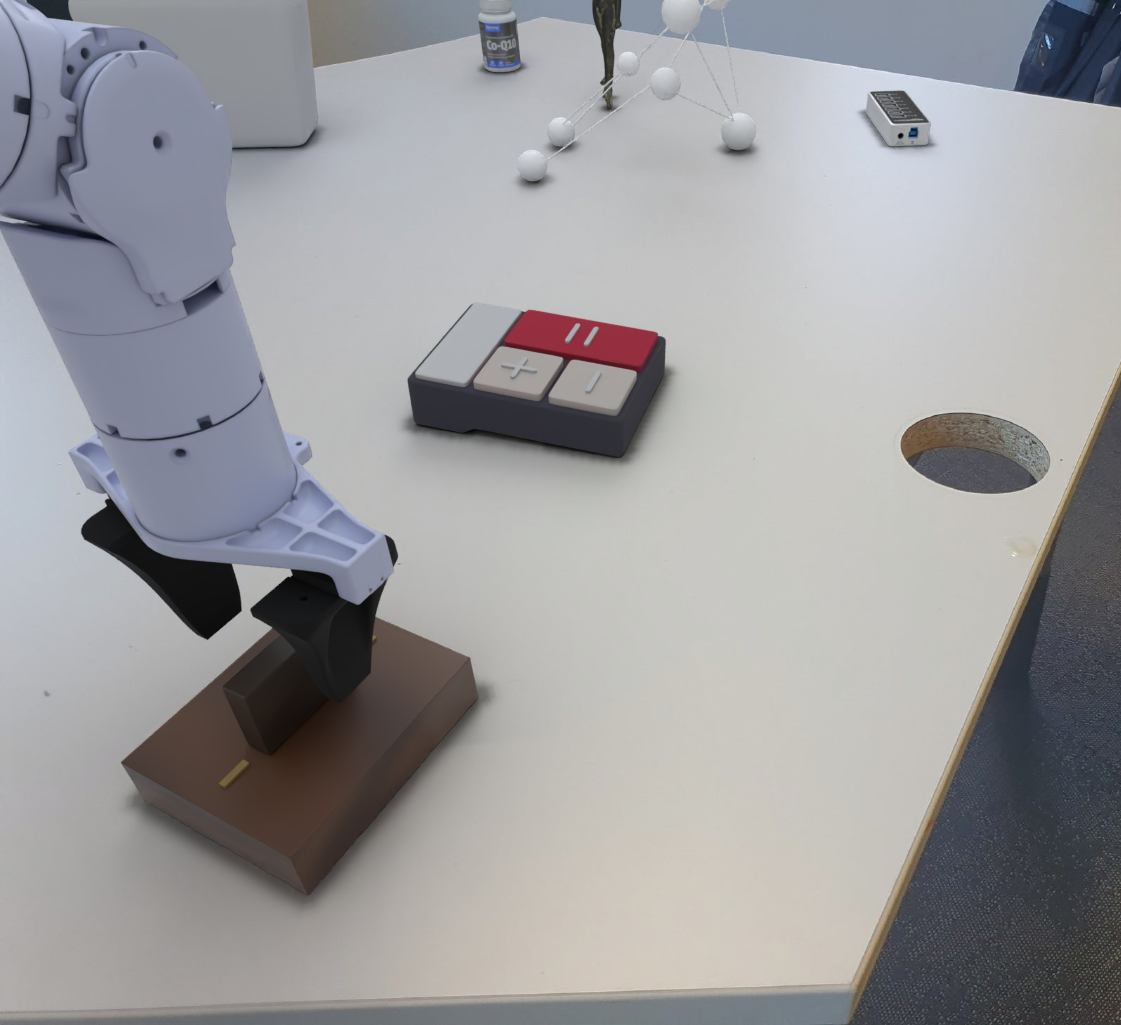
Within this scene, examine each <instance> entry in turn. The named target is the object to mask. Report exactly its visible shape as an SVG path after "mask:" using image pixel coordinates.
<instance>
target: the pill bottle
mask: <svg viewBox="0 0 1121 1025" xmlns="http://www.w3.org/2000/svg"><path fill="white" fill-rule="evenodd" d="M478 3H479V4H478V5H479V9H480V10H481V11H480V13H479V14H478V17H477V21H478V28H479V35H480V36H479V37H480V44H481V53H482V61H483V67H484V69H485V70H487V71H489V72H493V73H508V72H514V71H517V70H519V68H520V67H521V65H522V61H521V51H520V40H519V31H518V20H517V14H516V13H515V11H513V10H512V9H513V0H478Z"/></svg>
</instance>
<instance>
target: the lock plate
mask: <svg viewBox="0 0 1121 1025" xmlns="http://www.w3.org/2000/svg"><path fill="white" fill-rule="evenodd" d="M278 635H279V633H278V632H277V631H275V630H274V629H273V628H272V627H271V629H269V630H268V631H266V633H264V635H262V637H261V638H259V639H257V641H256V642H255V643H253V645H251V646H250V647H249V648H248V649H247V650H245V651H244V653H242V654H241V655H240V656H239V657H238V658H236V660H234V661H233V662H232V663H231V664H230V665H229V666H228V667H226V668H225V669H224V670H223V671H222V672H221V673H219V675H217V676H216V677H215V678H214V679H213V680H212V681H210V682H209V683H208V684H207V685H206V686H205V687H204V688H203V689H201V690H200V691H199V693H197V694H196V695H195V696H193V697H192V698H191V699H190V700H189V701H188V702H187V703H186V704H184V705H183V706H182V707H181V708H180V709H179V710H177V712H175V714H173V715H172V716H171V717H170V718H168V720H166V721H165V722H164V723H163V724H162V725H161V726H160V727H159V728H158V729H156V730H155V731H154V732H153V733H152V734H150V735H149V736H148V737H147V738H146V739H144V741H143V742H141V744H139V745H138V746H137V747H136V748H134V750H133V751H131V752H130V753H129V754H128V755H127V756H126V757H125V758H123V759H122V760H121V762H120V764H121V766H122V767H123V769H124V770H125V772H126V774H127V775H128V777H129V779H130V781H132V784H133V785H134V786H135V788H136V790H137V791H138V793H139V795H140V796H141V797H142V798H141V799H143V801H144V802H146V803H147V804H149V805H151V806H152V807H154V808H156V809H157V810H160V811H161V812H162V813H165V814H166V815H168V816H170V817H171V818H173V819H175V820H176V821H178V822H180V823H182V824H183V825H185V826H187V827H189V828H190V829H192V830H193V831H196V832H197V833H199V834H201V835H202V836H204V837H206V838H208V839H210V840H212V842H215V843H216V844H218V845H220V846H222V848H225V849H227V850H229V851H230V852H231V853H234V854H235V855H237V856H238V857H241V858H242V859H244V860H246V861H248V862H249V863H251V864H253V865H255V866H256V867H258V868H260V869H261V870H263V871H265V872H266V873H268V874H270V875H272V876H273V877H275V878H277V879H278V880H280V881H282V882H284V883H285V884H287V885H289V886H291V887H293V888H294V889H296V890H298V891H300V892H301V893H303V894H305V895H306V896H310V894H311V893H312V892H313V891H314V890H315V889H316V887H317V886H318V885H319V884H320V883H321V881H322V880H323V879H324V878H325V877H326V876H327V874H328V873H329V872H330V871H331V870H332V868H334V866H335V865H336V864H337V863H338V862H339V860H340V859H341V858H342V857H343V856H344V855H345V853H346V852H347V851H348V850H349V849H350V848H351V847H352V845H353V844H354V843H355V842H356V841H357V839H359V837H360V836H361V835H362V833H363V832H365V830H366V829H367V828H368V827H369V826H370V824H371V823H372V822H373V821H374V820H375V818H376V817H377V816H378V815H379V814H380V812H382V810H383V809H384V808H385V807H386V806H387V804H388V803H389V802H390V801H391V800H392V798H393V797H394V796H395V795H396V794H397V793H398V791H400V789H401V788H402V787H403V786H404V784H405V783H406V782H407V781H408V780H409V779H410V778H411V777H412V775H414V773H415V772H416V771H417V769H418V768H419V767H420V766H421V765H422V764H423V762H424V761H425V760H426V759H427V758H428V757H429V755H430V754H431V753H432V752H433V751H434V749H435V748H436V747H437V746H438V745H440V744H439V743H440V742H442V740H443V739H444V738H445V737H446V735H447V734H448V733H449V732H450V731H451V730H452V729H453V727H454V726H455V725H456V724H457V723H458V721H459V720H460V719H461V718H462V717H463V715H465V713H466V712H467V711H468V710H469V709H470V708H471V706H473V704H475V702H476V701H477V699H479V692H478V687H477V684H476V678H475V674H474V670H473V665H472V659H471V657H470V656H467V655H465V654H463V653H460V652H459V651H455V650H453V649H451V648H449V647H446V646H444V645H442V644H440V643H438V642H435V641H432V640H430V639H428V638H426V637H423V636H421V635H419V634H416V633H414V632H412V631H409V630H407V629H405V628H403V627H400V626H398V625H395V624H394V623H392V622H388V621H387V620H385V619H382V618H380V617H377V616H376V617H375V623H374V630H373V640H372V658H371V673H370V674H369V675H368V676H367V677H366V678H365V679H364V680H363V681H362V682H361V683H360V684H359V685H358V686H357V687H356V688H355V689H354V691H353V692H352V693H351V694H350V695H349V696H348V697H347V698H346V699H345V700H344V701H343V702H340V703H337V702H335V701H333V700H331V699H329V698H328V699H327V700H326V701H325V702H324V703H323V704H322V705H321V706H320V707H319V708H318V709H317V710H316V711H315V712H314V713H313V714H312V715H311V716H310V717H309V718H308V719H306V720H305V721H304V722H303V723H302V724H301V725H300V726H299V727H298V728H297V729H296V730H295V731H294V732H293V733H292V734H291V735H290V736H289V737H288V738H287V739H286V740H285V741H284V742H283V743H282V744H281V745H280V746H279V747H278V748H277V749H276V750H275V751H274V752H273V753H272V754H271V755H268V754H266V753H265V752H263V751H261V750H259V749H257V748H255V747H253V746H251V745H249V744H248V743H247V741H246V739H245V736H244V734H243V732H242V730H241V728H240V726H239V724H238V722H237V720H236V717H235V715H234V713H233V711H232V709H231V707H230V705H229V703H228V700H227V698H226V696H225V694H224V692H223V690H222V688H221V687H222V685H223V684H224V683H226V682H227V681H228V680H229V679H230V678H231V677H232V676H233V675H234V674H236V673H237V672H238V671H239V670H240V669H241V668H242V667H243V666H245V665H246V664H247V663H248V662H249V661H250V660H251V659H252V658H253V657H255V656H256V655H257V654H258V653H259V652H260V651H261V650H262V649H264V648H265V647H266V646H267V645H268V644H269V643H270V642H271V641H272V640H274V639H275V638H276V637H277V636H278Z"/></svg>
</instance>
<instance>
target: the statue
mask: <svg viewBox="0 0 1121 1025" xmlns="http://www.w3.org/2000/svg"><path fill="white" fill-rule="evenodd" d="M591 9H592V12H591V13H592V18H593V22H594V25H595V26H594V27H595V29H596V31H597V33H598V35H599V38H600V47H601V52H602V57H603V67H604V77H603V78H602V79H601V80H600V81H599V85H600V86H604V85H605V84H606V83H608V82H609V81H610V80H611V79H612V78H613V77H614V76H615V75H614V72H615V71H614V70H615V69H614V68H615V58H616V57H615V46H614V43H615V42H614V41H615V36H616V30H618V29H621V27H622V26H623V24H622V20H621V12H622V0H592V2H591ZM613 83H614V79H613V80H612V81H611V82H610V83H609V84H608V85H607V86H605V87H604V88H603V89H602V90H603V91H602V94H603V93H604V92H605V91H606V90H607V89H608V88H609V87H610V86H611V85H612V84H613ZM613 91H614V90H613V86H612V87H611V88H610V89H609V90H608V91H607V92H606V93H605V94H604V95H603V96H602V97H601V98H603V99H604V100H605V103H606V109H612V108H613V105H614V103H613Z"/></svg>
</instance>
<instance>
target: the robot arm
mask: <svg viewBox="0 0 1121 1025" xmlns="http://www.w3.org/2000/svg"><path fill="white" fill-rule="evenodd" d="M177 58H178V56H177V55H176V54H175V53H174V52H173V51H172V50H171V49H170V48H169V47H167V46H166V45H164V44H163V43H162V42H160V41H159V40H157V39H156V38H154V37H152V36H150V35H148V34H146V33H144V32H142V31H138V30H134V29H130V28H125V27H117V26H109V25H101V24H92V23H84V22H76V21H73V20H67V19H59V18H50V17H47V16H46V15H45V14H43V13H42V12H41V11H40V10H38V8H36V7H34V5H31V4H30V3H28V1H27V0H0V217H2V218H7V219H11V220H17V221H22V222H8V221H3V220H0V233H1V235H2V237H3V239H4V242H5V244H6V246H7V249H8V250H9V252H10V254H11V256H12V259H13V261H14V262H15V265H16V267H17V269H18V271H19V273H20V276H21V277H22V279H23V282H24V283H25V285H26V288H27V290H28V292H29V294H30V296H31V298H32V300H33V302H34V305H35V307H36V308H37V311H38V313H39V314H40V317H41V318H42V320H43V323H44V324H45V325H44V326H45V327H46V330H47V331H48V333H49V336H50V338H51V339H52V342H53V344H54V345H55V348H56V350H57V352H58V354H59V356H60V359H61V360H62V363H63V365H64V366H65V369H66V371H67V373H68V375H69V377H70V379H71V381H72V383H73V385H74V387H75V389H76V391H77V393H78V396H79V398H80V400H81V402H82V404H83V406H84V408H85V410H86V413H87V415H88V416H89V419H90V421H91V424H92V426H93V427H94V430H95V434H94V435H92V436H90V437H88V438H87V439H86V440H84V441H82V442H80V443H79V444H78V445H76V446H74V447H72V448H70V449H69V450H68V452H67V453H68V456H69V457H70V459H71V461H72V463H73V465H74V467H75V469H76V471H77V472H78V474H79V477H80V478H81V480H82V481H81V482H83V484H84V486H85V489H88V490H90V491H92V492H95V493H97V494H101V495H104V494H106V495H107V497H108V498H106V499H105V500H104V503H105V505H106V506H105V507H103V508H102V509H100V510H99V511H97V512H96V513H94V514H92V515H91V516H90V517H89V518H88V519H86V520H85V521H84V523H83V524H82V525H81V528H80V535H81V536H82V538H83V540H84V541H86V542H87V543H89V544H91V545H93V546H95V547H96V548H99V549H100V550H102V551H103V552H105V553H107V554H108V555H110V556H111V557H113V558H114V559H116V560H117V561H119V562H120V563H121V564H123V565H124V566H125V567H127V568H128V569H129V570H131V571H132V572H133V573H134V574H136V576H138V577H139V578H140V579H141V580H142V581H143V582H145V584H147V585H148V587H150V588H151V589H152V590H153V591H154V593H156V594H157V596H158V597H159V598H160V599H161V600H162V601H163V602H164V603H165V604H166V605H167V606H168V608H169V609H170V610H171V611H172V612H173V613H174V615H176V616H177V618H178V619H180V620H181V622H182V623H183V624H184V625H185V626H186V627H187V628H188V629H189V630H191V632H193V633H194V634H195V635H197V636H198V637H200V638H202V639H204V640H206V641H208V640H210V639H211V638H213V636H214V635H216V634H217V633H218V632H219V631H220V630H221V629H223V628H224V627H225V626H226V625H227V624H228V623H230V622H231V621H233V619H235V617H237V616H238V615H239V614H241V613H242V612H243V609H242V608H243V605H242V597H241V590H240V586H239V583H238V579H237V576H236V573H235V570H234V566H233V565H243V566H252V567H253V566H254V567H264V568H274V569H275V568H276V569H287V570H290V572H291V575H290V576H287V577H285V578H284V579H283V580H282V581H281V582H280V583H278V584H277V585H276V586H275V587H274V588H272V589H271V590H270V591H269V592H268V593H266V595H264V596H263V597H262V598H260V599H259V600H258V601H257V602H255V604H253V605H252V606H251V607H250V609H249V611H250V613H251V616H252V618H254V619H257V620H258V621H260V622H262V623H263V624H266V625H267V626H269V627H270V628H271V629H272V628H273V629H274V630H275V631H277V632H278V633H279V634H280V635H282V636H283V637H284V638H285V639H286V641H287V642H288V643H289V644H290V645H291V646H292V647H293V648H294V650H295V651H296V652H297V653H298V655H299V656H300V658H301V659H302V661H303V663H304V665H305V667H306V668H307V670H308V672H309V674H310V676H311V678H312V679H313V681H314V683H315V684H316V686H317V687H318V688H319V690H320V691H321V692H322V693H323V694H324V695H325V696H326V697H327V698H329V699H331V700H333V701H335V702H337V703H340V702H343V701H344V700H345V699H346V698H347V697H348V696H349V695H350V694H351V693H352V692H353V691H354V689H355V688H356V687H357V686H358V685H359V684H360V683H361V682H362V681H363V680H364V679H365V678H366V677H367V676H368V675H369V674H370V673H371V658H372V640H373V630H374V623H375V617H377V611H378V607H379V604H380V601H381V598H382V594H383V592H384V590H385V587H386V585H387V582H388V580H389V578H390V577H391V576H392V575H393V574H394V573H395V568H394V567H395V566H396V563H397V561H398V559H399V552H398V549H397V546H396V543H395V540H394V539H393V538H392V537H391V536H389V535H387V534H385V533H384V532H380V531H379V530H376V529H374V528H372V527H371V526H368V525H366V524H364V523H363V522H362V521H360V520H359V519H358V518H357V517H356V516H354V515H353V514H352V513H350V511H349V510H348V509H346V508H345V506H344V505H343V504H341V502H339V501H338V500H337V499H336V498H335V496H334V495H333V494H331V492H329V491H328V490H327V489H326V488H325V487H324V486H323V485H322V484H321V483H320V481H318V480H317V479H316V478H315V477H314V476H313V475H312V474H311V473H310V472H309V471H308V470H307V469H306V468H305V467H304V465H305V464H306V463H308V462H309V461H310V460H311V459H312V458H313V451H312V447H311V443H310V442H309V441H308V440H307V439H306V438H303V437H301V436H299V435H295V434H293V433H290V432H287V431H284V430H283V428H282V424H281V421H280V418H279V416H278V412H277V409H276V406H275V404H274V400H273V398H272V394H271V391H270V390H271V389H270V388H269V384H268V381H267V378H266V375H265V373H264V369H263V365H262V363H261V359H260V356H259V353H258V351H257V348H256V344H255V341H254V338H253V334H252V332H251V328H250V325H249V323H248V319H247V317H246V314H245V311H244V308H243V304H242V301H241V299H240V296H239V292H238V289H237V287H236V284H235V280H234V277H233V274H232V271H231V268H232V266H233V264H234V256H233V252H232V251H233V248H234V247H236V246H237V243H236V240H235V237H234V233H233V230H232V227H231V224H230V221H229V217H228V211H227V192H228V186H229V181H230V177H231V171H232V163H233V148H232V137H231V129H230V123H229V118H228V114H227V110H226V107H225V106H224V105H218V106H216V107H215V104H214V102H211V101H210V99H209V97H208V95H207V93H206V91H205V89H204V88H203V86H202V85H201V83H200V82H199V81H198V79H197V78H196V77H195V76H194V75H193V74H192V72H191V71H190V70H188V69H187V68H186V67H185V66H184V65H183V64H181V63H180V62H179V61H177Z"/></svg>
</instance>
